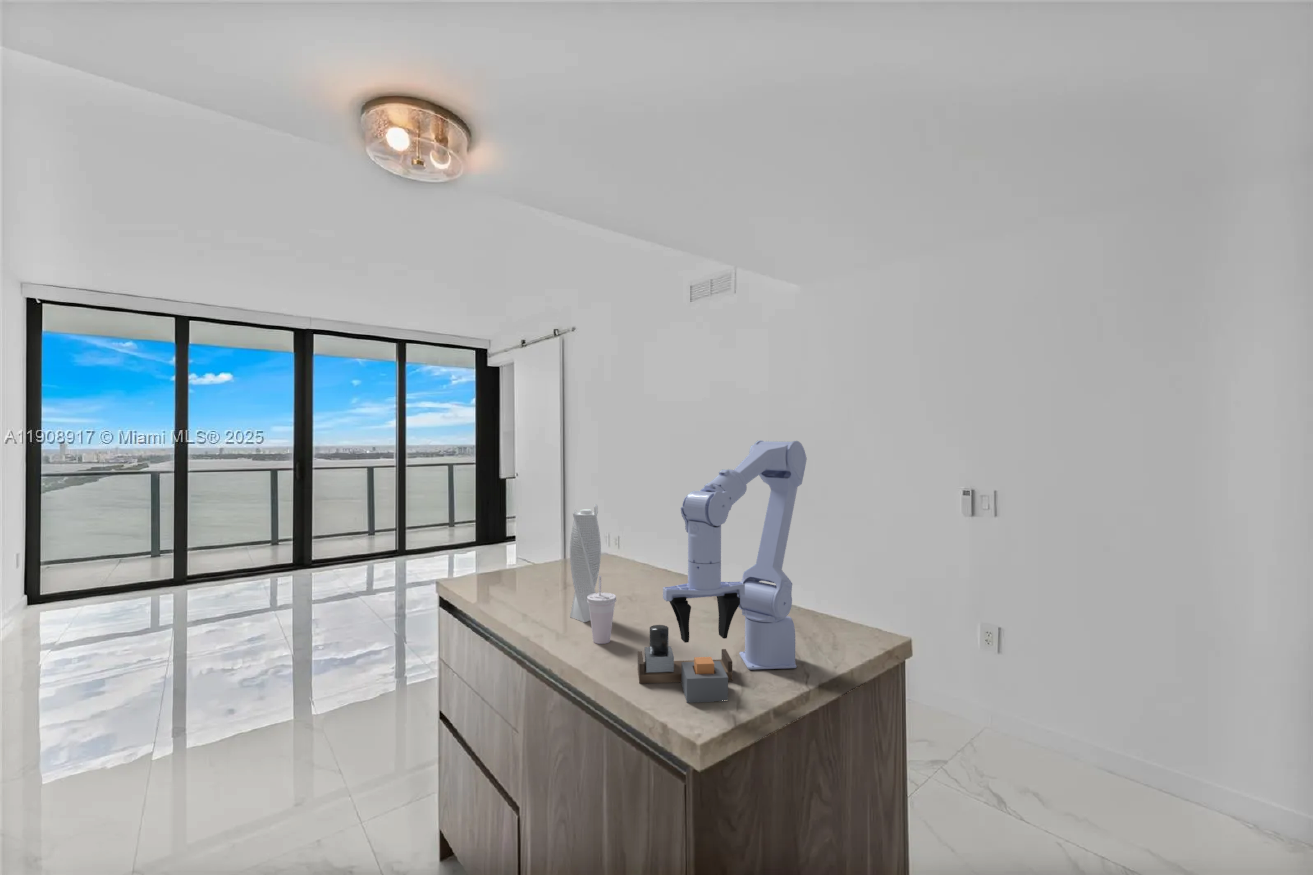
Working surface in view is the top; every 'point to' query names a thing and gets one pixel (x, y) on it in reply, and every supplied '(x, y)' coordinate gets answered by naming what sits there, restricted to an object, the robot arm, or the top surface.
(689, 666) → the block
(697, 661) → the button
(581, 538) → the skyscraper
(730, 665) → the rail
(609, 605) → the smoothie
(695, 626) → the top surface
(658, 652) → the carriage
